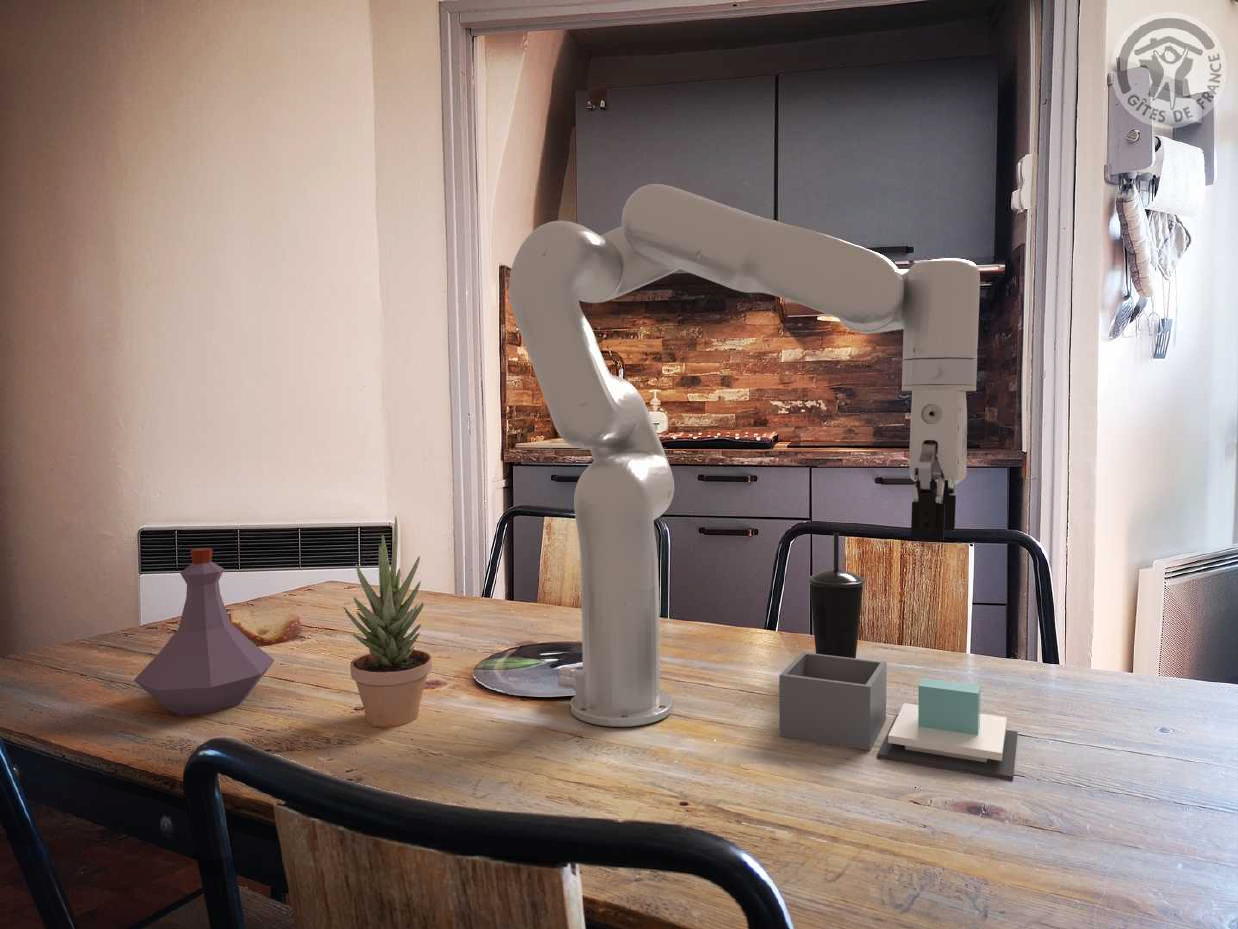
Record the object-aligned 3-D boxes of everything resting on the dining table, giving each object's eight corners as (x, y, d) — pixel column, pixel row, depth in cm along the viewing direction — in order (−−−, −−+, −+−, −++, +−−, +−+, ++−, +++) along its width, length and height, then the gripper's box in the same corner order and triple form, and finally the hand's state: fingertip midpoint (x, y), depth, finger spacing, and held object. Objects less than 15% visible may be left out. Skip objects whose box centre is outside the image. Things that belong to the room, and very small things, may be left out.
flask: (302, 687, 115) (297, 541, 114) (214, 731, 99) (207, 562, 98) (202, 678, 120) (196, 538, 118) (103, 719, 104) (94, 558, 103)
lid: (888, 752, 90) (888, 693, 89) (904, 718, 99) (904, 665, 99) (1001, 770, 85) (1002, 709, 84) (1006, 733, 94) (1007, 677, 94)
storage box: (779, 735, 96) (779, 675, 95) (802, 708, 104) (802, 652, 104) (870, 750, 91) (870, 687, 91) (886, 720, 100) (886, 662, 100)
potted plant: (403, 737, 97) (397, 523, 95) (335, 727, 100) (328, 520, 99) (450, 708, 106) (445, 512, 105) (386, 700, 109) (380, 510, 108)
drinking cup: (867, 687, 112) (867, 537, 111) (808, 684, 114) (808, 536, 112) (862, 669, 119) (863, 529, 118) (807, 667, 121) (807, 528, 120)
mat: (877, 757, 89) (877, 753, 89) (896, 717, 101) (896, 714, 101) (1012, 780, 83) (1012, 776, 83) (1017, 734, 95) (1017, 731, 95)
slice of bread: (242, 619, 156) (241, 599, 156) (332, 622, 153) (331, 601, 153) (174, 645, 139) (173, 623, 138) (274, 649, 135) (273, 626, 135)
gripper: (968, 374, 82) (962, 549, 83) (983, 379, 97) (978, 527, 98) (888, 375, 85) (883, 543, 86) (914, 380, 101) (910, 523, 102)
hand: (933, 534), depth 92 cm, fingers open, 9 cm apart
